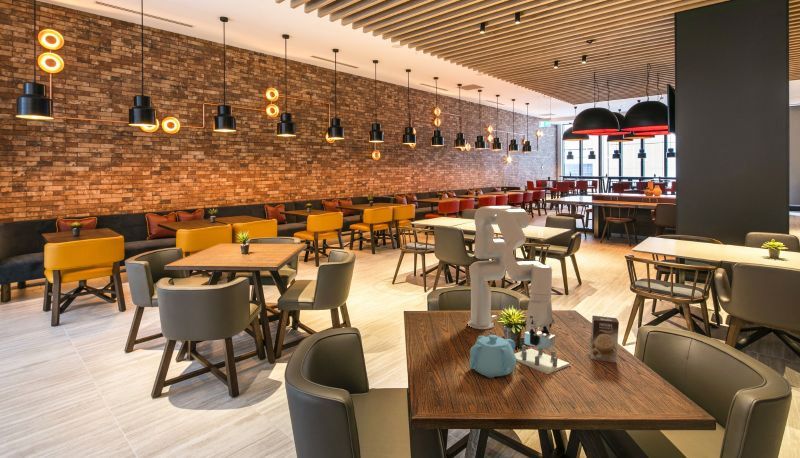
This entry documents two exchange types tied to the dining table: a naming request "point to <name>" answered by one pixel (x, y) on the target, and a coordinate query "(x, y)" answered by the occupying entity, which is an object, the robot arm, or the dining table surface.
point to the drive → (541, 340)
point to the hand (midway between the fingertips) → (539, 342)
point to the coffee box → (604, 338)
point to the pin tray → (540, 360)
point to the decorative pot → (493, 356)
